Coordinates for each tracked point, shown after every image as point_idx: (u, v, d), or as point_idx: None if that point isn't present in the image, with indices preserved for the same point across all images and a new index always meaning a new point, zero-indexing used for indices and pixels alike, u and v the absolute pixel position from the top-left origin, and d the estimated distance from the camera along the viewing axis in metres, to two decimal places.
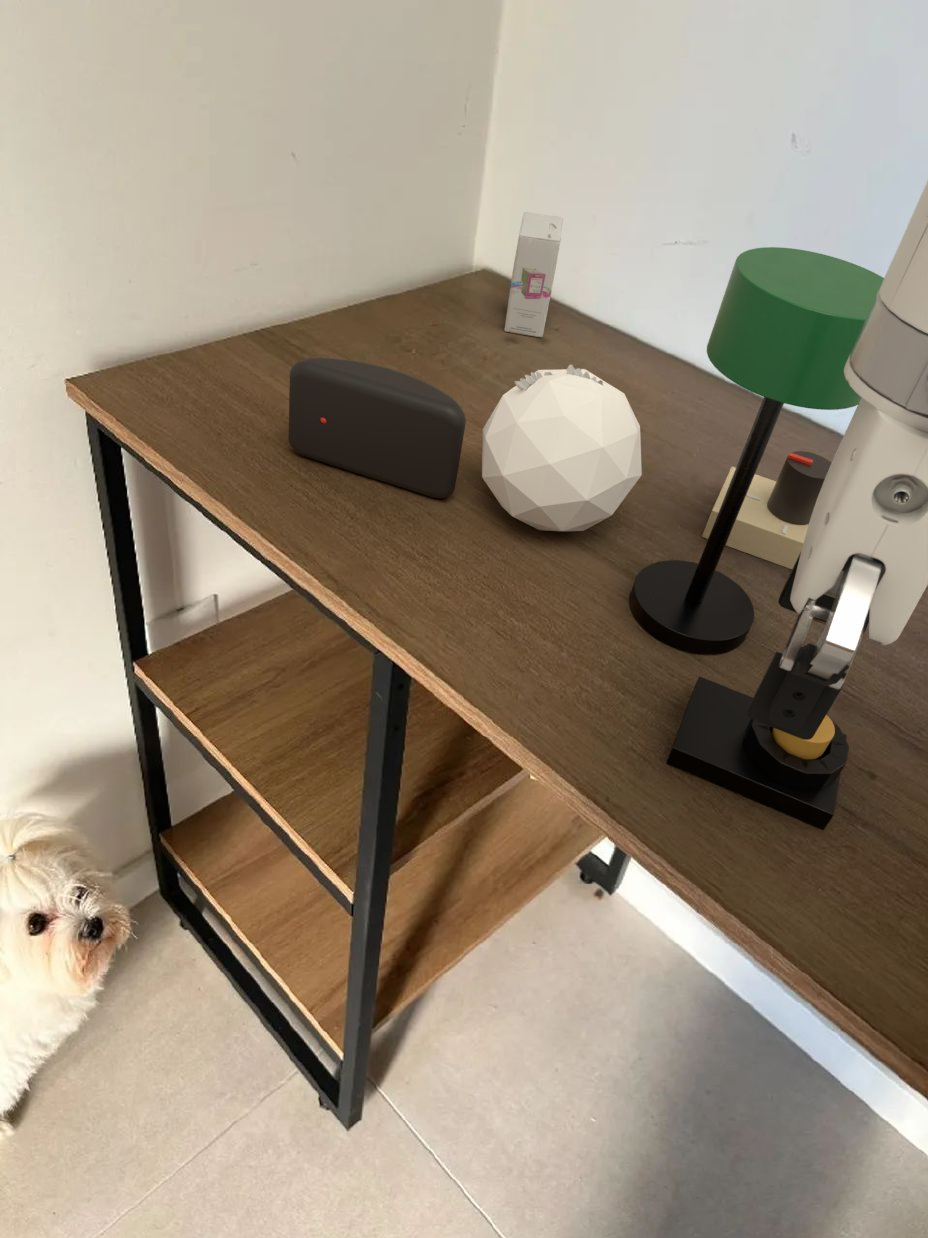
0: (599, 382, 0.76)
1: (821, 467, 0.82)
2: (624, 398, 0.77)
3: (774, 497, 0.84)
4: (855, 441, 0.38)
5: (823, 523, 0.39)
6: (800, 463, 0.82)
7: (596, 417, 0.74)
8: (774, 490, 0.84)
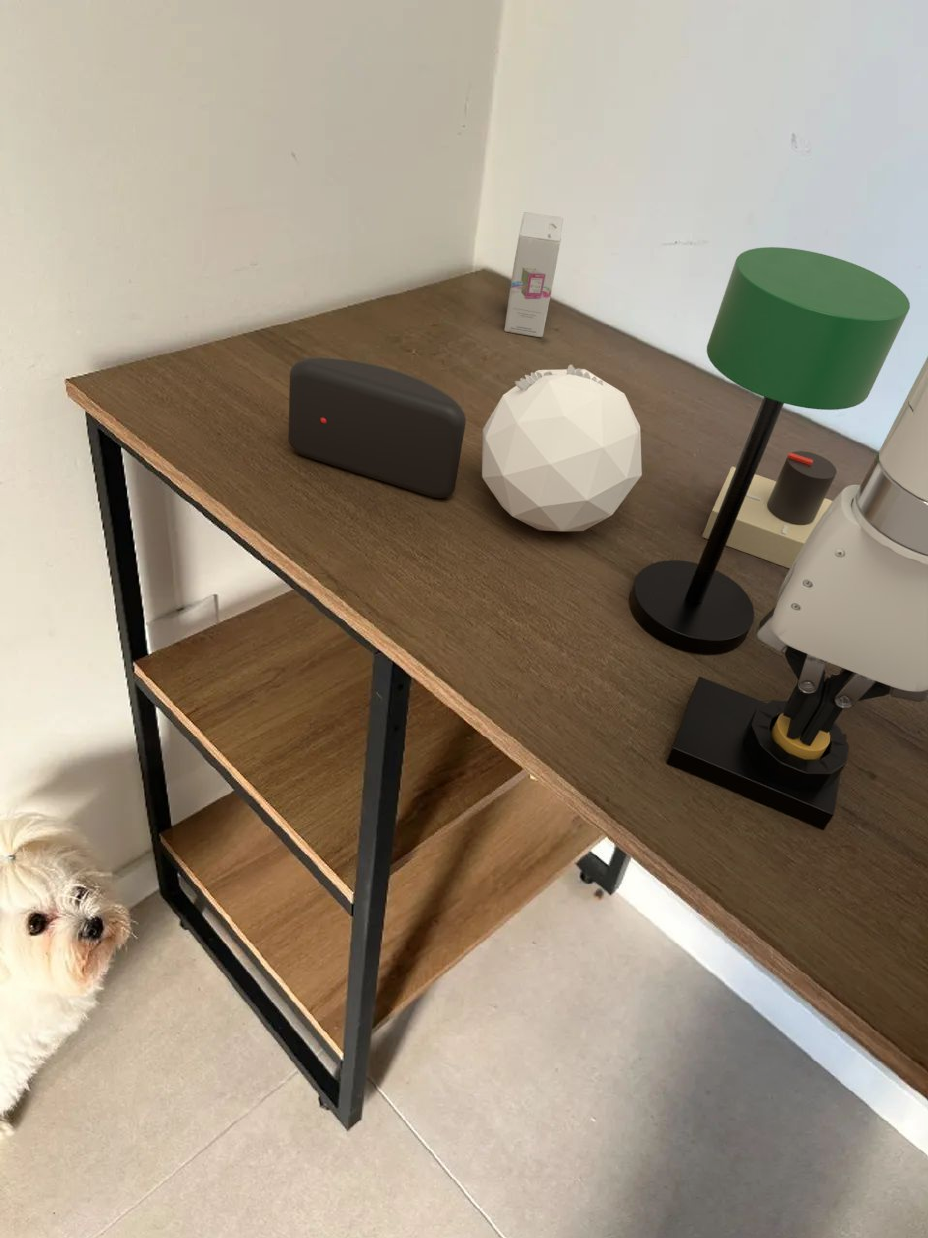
0: (599, 383, 0.76)
1: (821, 467, 0.82)
2: (624, 398, 0.77)
3: (774, 497, 0.84)
4: None
5: None
6: (800, 463, 0.82)
7: (596, 417, 0.74)
8: (774, 490, 0.84)
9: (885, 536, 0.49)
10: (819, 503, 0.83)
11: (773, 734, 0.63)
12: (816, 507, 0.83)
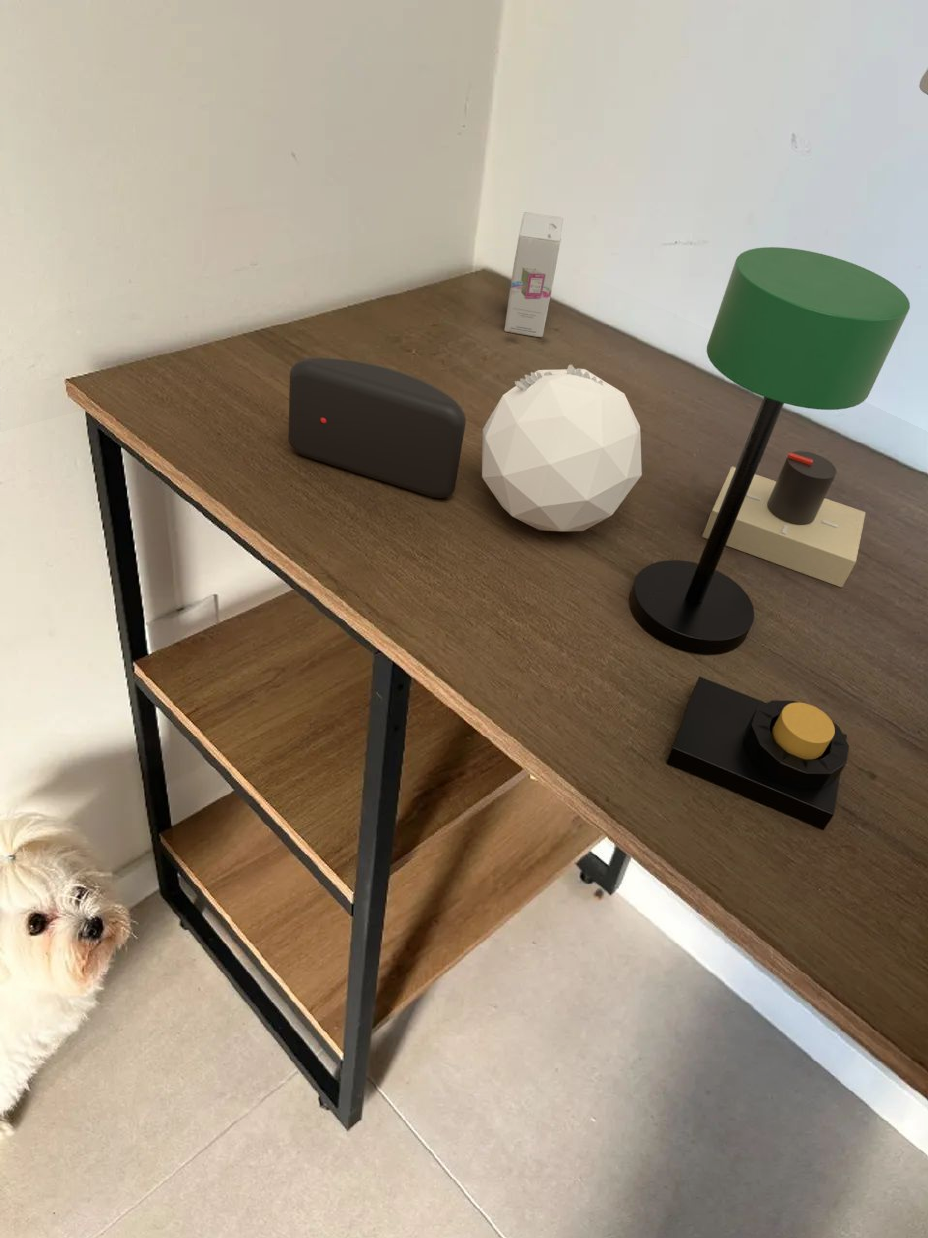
0: (599, 383, 0.76)
1: (821, 467, 0.82)
2: (624, 398, 0.77)
3: (774, 497, 0.84)
4: None
5: None
6: (800, 463, 0.82)
7: (596, 417, 0.74)
8: (774, 490, 0.84)
9: None
10: (819, 503, 0.83)
11: (777, 726, 0.63)
12: (816, 507, 0.83)
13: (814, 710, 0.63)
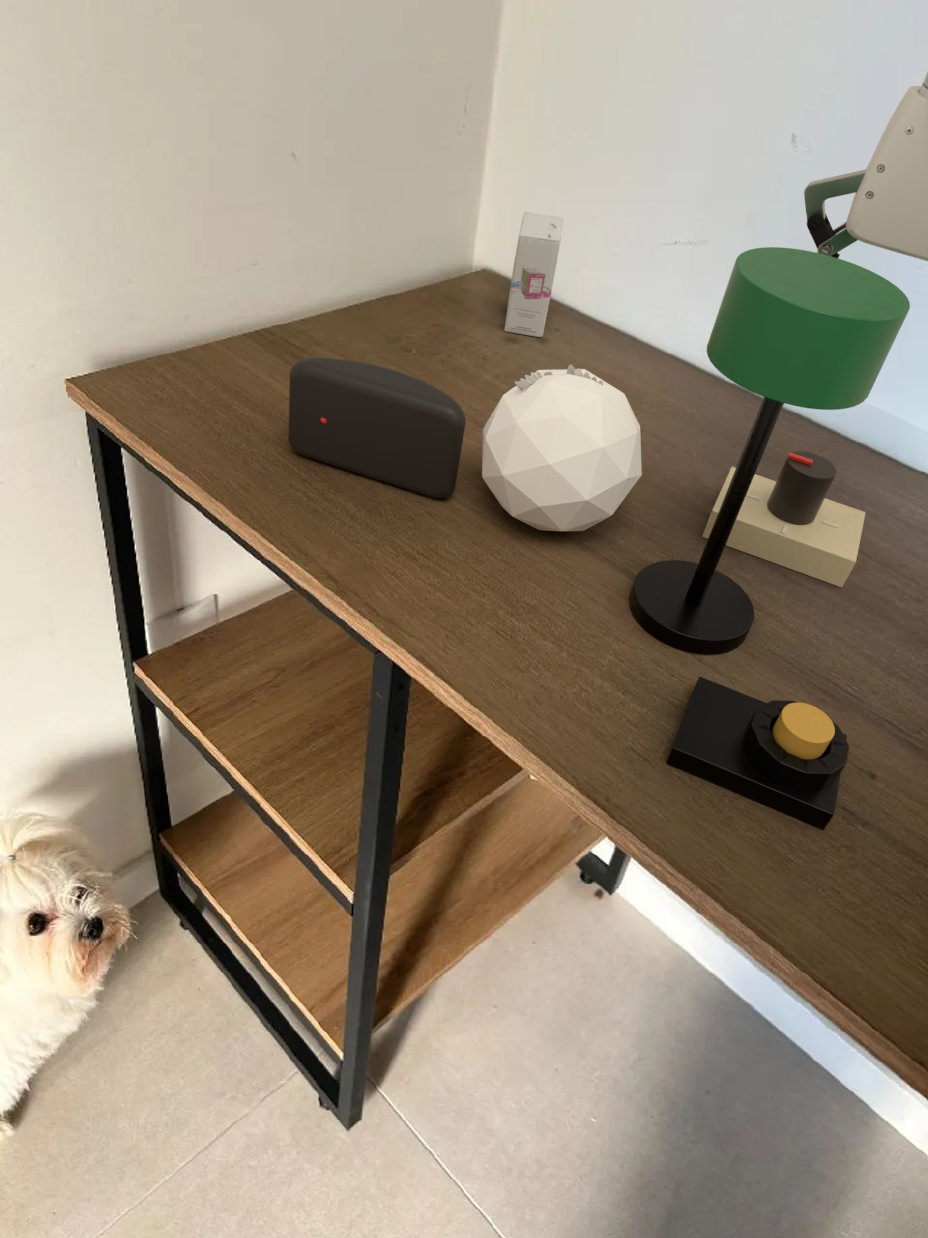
0: (599, 382, 0.76)
1: (821, 467, 0.82)
2: (624, 398, 0.77)
3: (774, 497, 0.84)
4: None
5: None
6: (800, 463, 0.82)
7: (596, 417, 0.74)
8: (774, 490, 0.84)
9: None
10: (819, 503, 0.83)
11: (777, 726, 0.63)
12: (816, 507, 0.83)
13: (814, 710, 0.63)
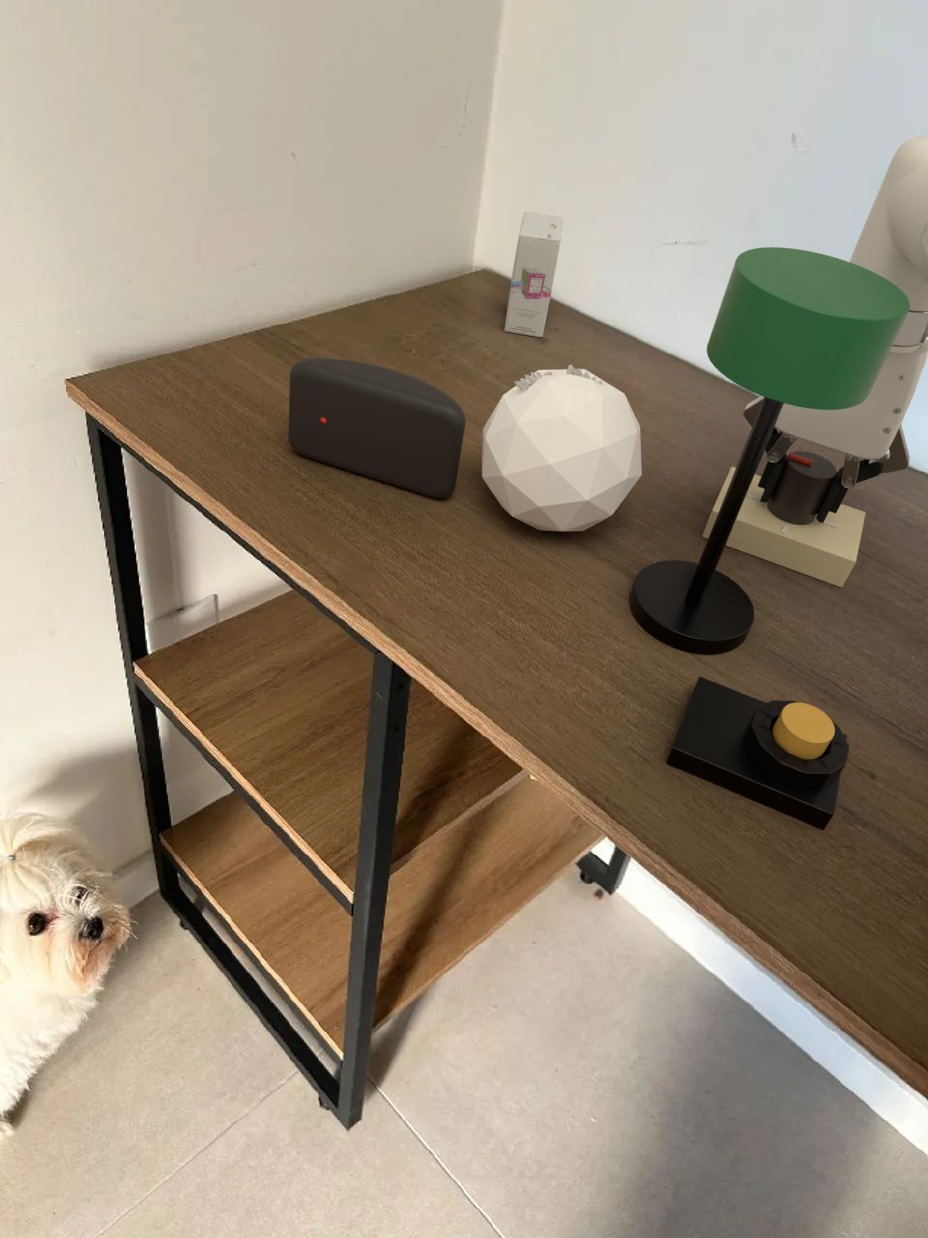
0: (599, 382, 0.76)
1: (821, 467, 0.82)
2: (624, 398, 0.77)
3: (774, 498, 0.84)
4: (896, 372, 0.73)
5: (893, 414, 0.75)
6: (800, 463, 0.82)
7: (596, 417, 0.74)
8: (774, 490, 0.84)
9: None
10: (819, 503, 0.83)
11: (777, 726, 0.63)
12: (816, 507, 0.83)
13: (814, 710, 0.63)
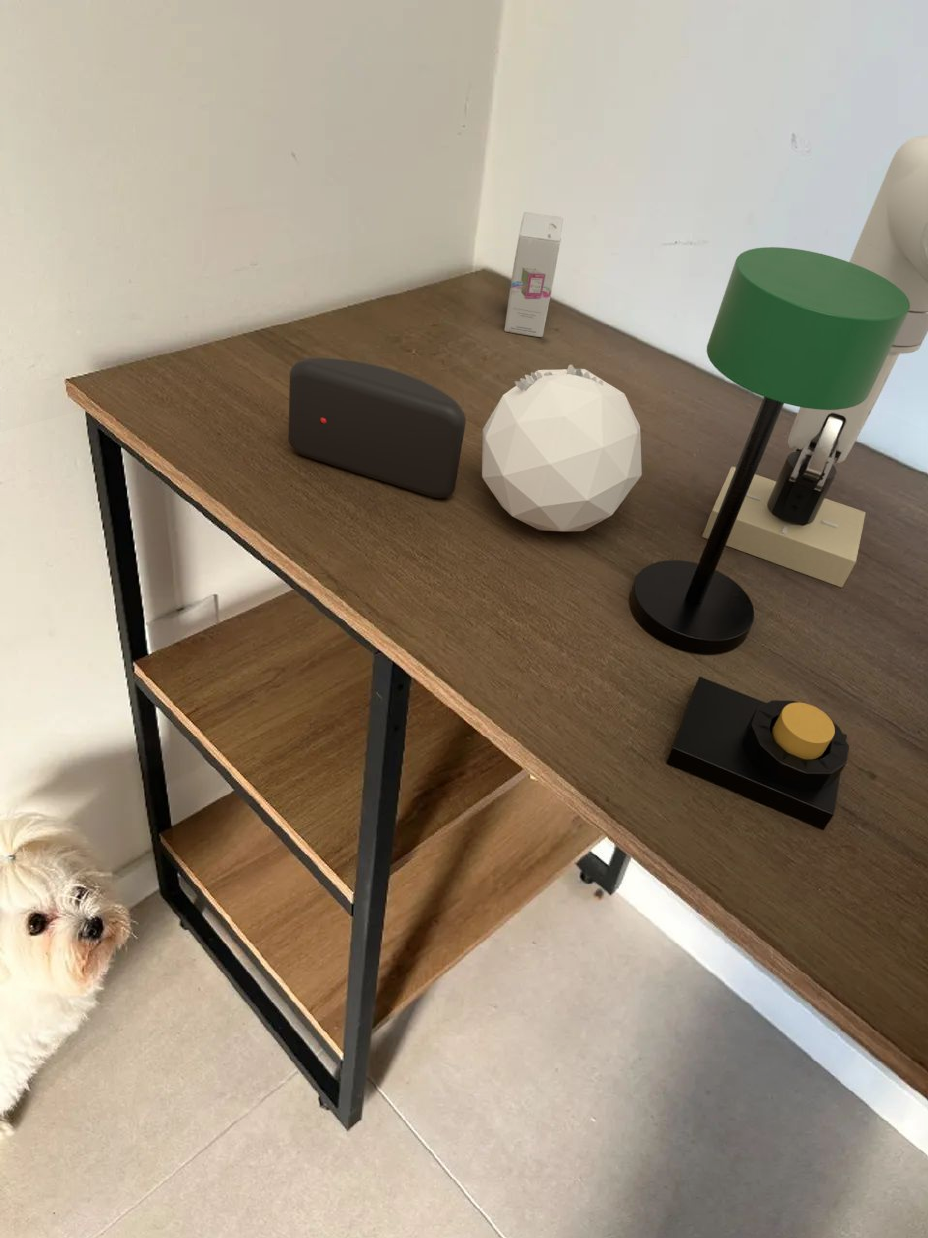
0: (599, 382, 0.76)
1: None
2: (624, 398, 0.77)
3: None
4: None
5: None
6: None
7: (596, 417, 0.74)
8: None
9: (915, 345, 0.71)
10: None
11: (777, 726, 0.63)
12: None
13: (814, 710, 0.63)
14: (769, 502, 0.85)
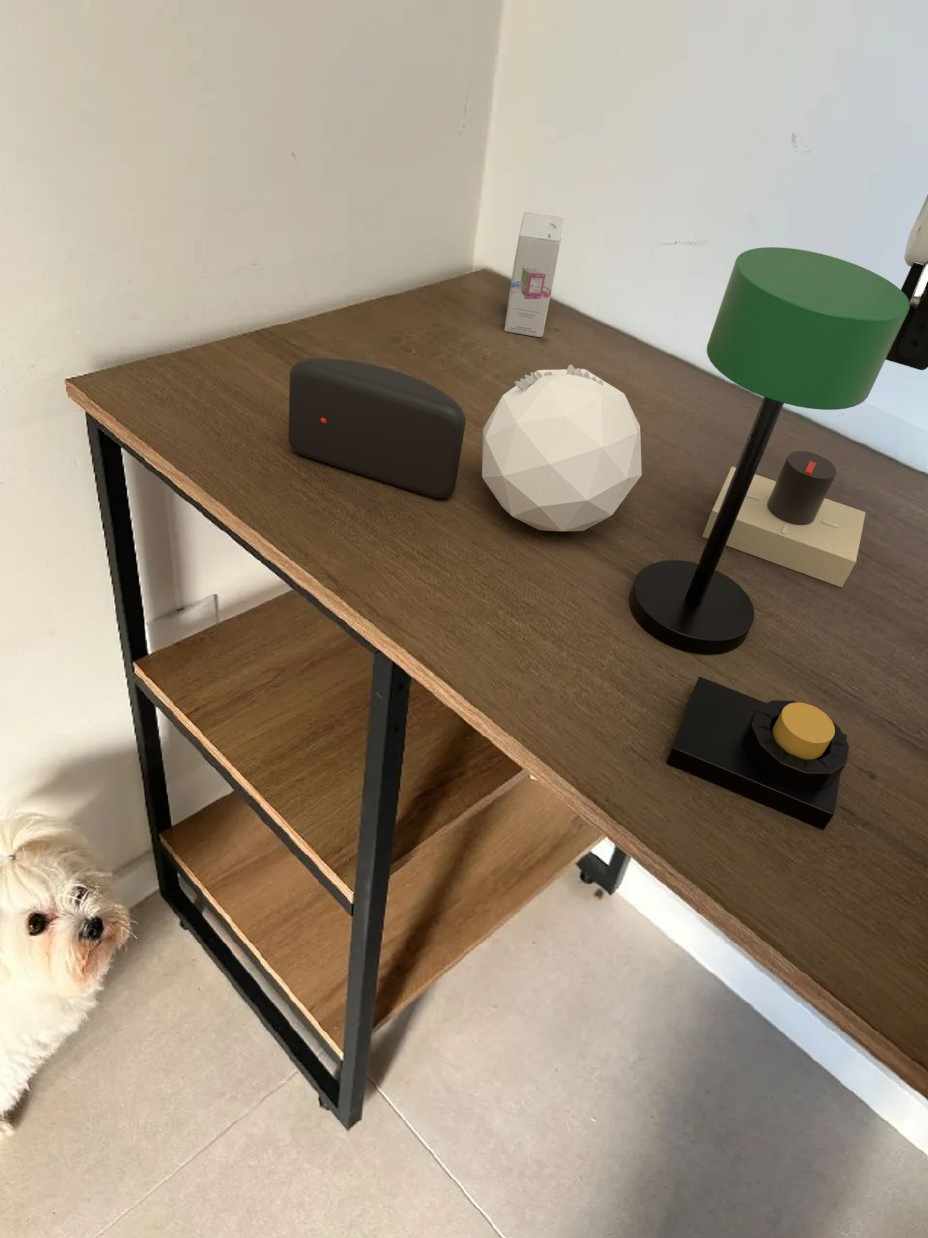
0: (599, 383, 0.76)
1: (814, 460, 0.83)
2: (624, 398, 0.77)
3: (806, 512, 0.83)
4: None
5: None
6: (816, 471, 0.81)
7: (596, 417, 0.74)
8: (800, 508, 0.82)
9: None
10: None
11: (777, 726, 0.63)
12: None
13: (814, 710, 0.63)
14: (769, 501, 0.85)
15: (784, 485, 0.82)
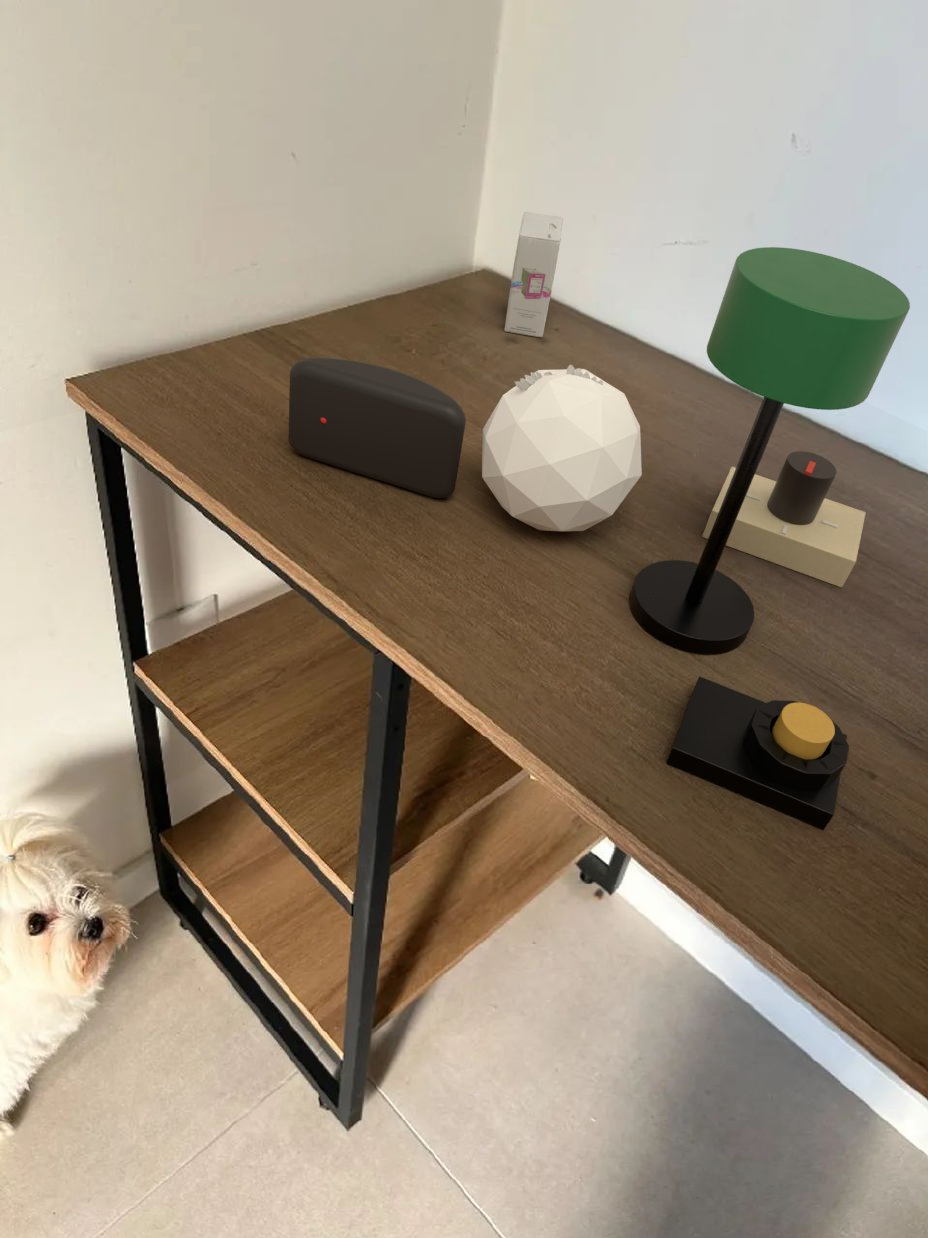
0: (599, 383, 0.76)
1: (814, 460, 0.83)
2: (624, 398, 0.77)
3: (806, 512, 0.83)
4: None
5: None
6: (816, 471, 0.81)
7: (596, 417, 0.74)
8: (800, 508, 0.82)
9: None
10: None
11: (777, 726, 0.63)
12: None
13: (814, 710, 0.63)
14: (769, 501, 0.85)
15: (784, 485, 0.82)
